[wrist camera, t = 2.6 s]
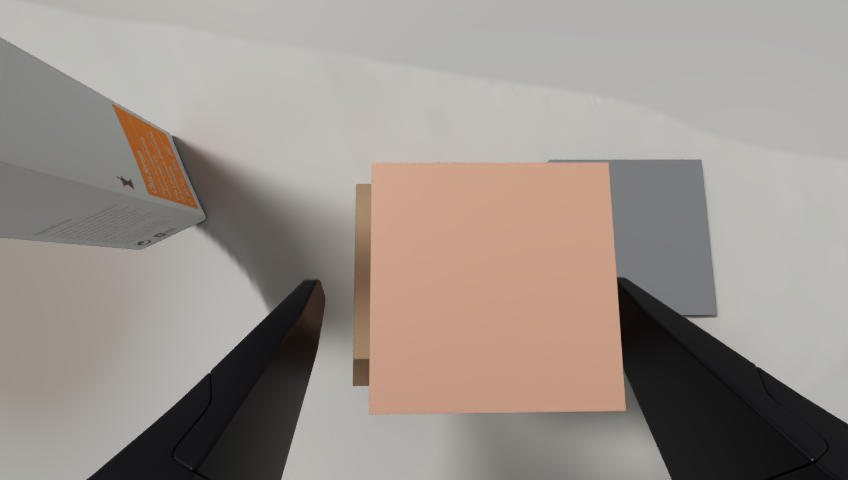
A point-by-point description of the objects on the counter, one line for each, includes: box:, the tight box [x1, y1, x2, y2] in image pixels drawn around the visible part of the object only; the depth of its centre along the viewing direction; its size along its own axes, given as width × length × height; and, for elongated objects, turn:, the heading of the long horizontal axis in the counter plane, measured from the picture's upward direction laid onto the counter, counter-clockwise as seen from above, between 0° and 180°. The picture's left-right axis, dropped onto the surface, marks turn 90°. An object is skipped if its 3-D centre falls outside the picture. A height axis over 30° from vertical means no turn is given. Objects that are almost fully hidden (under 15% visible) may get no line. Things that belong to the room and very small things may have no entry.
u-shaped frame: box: [353, 184, 371, 386], centre depth 16 cm, size 10×9×3 cm
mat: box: [547, 160, 717, 315], centre depth 18 cm, size 9×9×1 cm
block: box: [369, 162, 626, 414], centre depth 12 cm, size 5×5×12 cm
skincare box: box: [0, 37, 206, 250], centre depth 12 cm, size 6×4×12 cm
